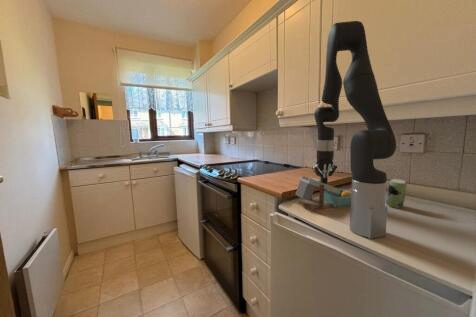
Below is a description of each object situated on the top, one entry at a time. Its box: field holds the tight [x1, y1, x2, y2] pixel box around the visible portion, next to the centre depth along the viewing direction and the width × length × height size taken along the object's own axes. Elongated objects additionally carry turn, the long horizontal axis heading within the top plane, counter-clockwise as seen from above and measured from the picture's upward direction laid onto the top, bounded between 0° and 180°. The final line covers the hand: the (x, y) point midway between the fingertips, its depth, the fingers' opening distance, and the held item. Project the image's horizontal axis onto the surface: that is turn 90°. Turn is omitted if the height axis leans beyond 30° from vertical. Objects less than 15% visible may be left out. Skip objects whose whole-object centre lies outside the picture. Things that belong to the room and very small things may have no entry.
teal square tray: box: [324, 188, 351, 208], centre depth 94 cm, size 12×12×4 cm
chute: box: [295, 175, 342, 201], centre depth 93 cm, size 17×12×10 cm
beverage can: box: [385, 178, 408, 209], centre depth 86 cm, size 6×7×12 cm
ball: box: [341, 190, 351, 197], centre depth 95 cm, size 4×4×4 cm
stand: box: [297, 185, 335, 211], centre depth 90 cm, size 12×10×10 cm
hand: (323, 184), depth 98 cm, fingers closed
